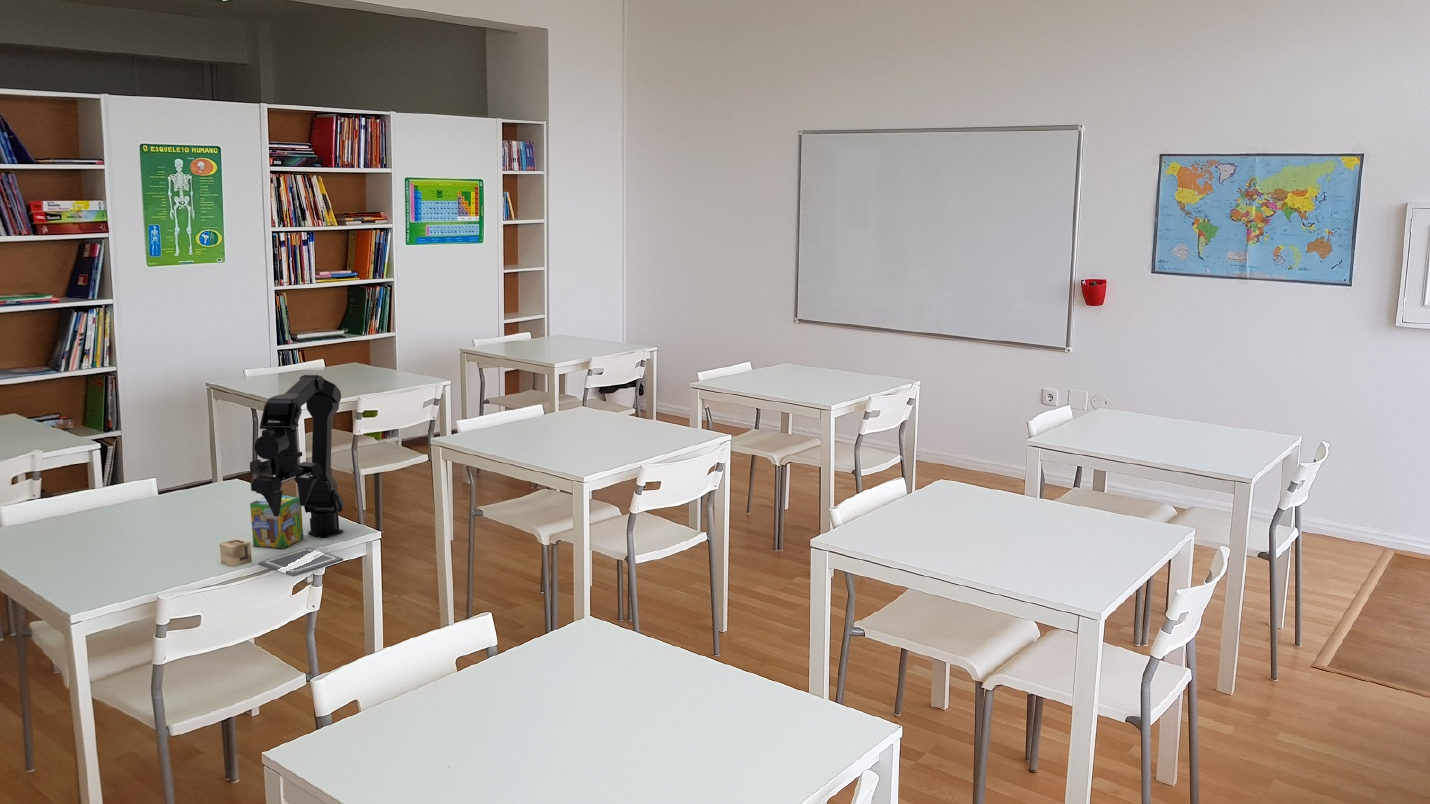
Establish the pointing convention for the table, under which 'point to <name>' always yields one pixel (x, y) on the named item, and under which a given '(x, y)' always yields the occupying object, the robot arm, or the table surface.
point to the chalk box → (276, 523)
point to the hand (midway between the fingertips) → (289, 511)
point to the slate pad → (293, 556)
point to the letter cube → (235, 552)
